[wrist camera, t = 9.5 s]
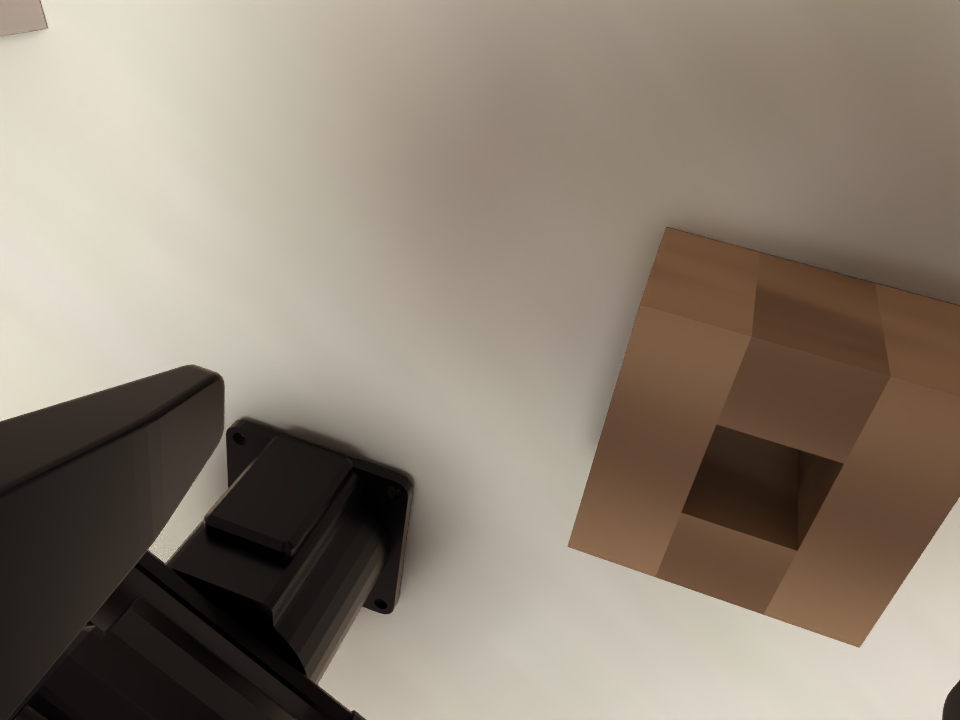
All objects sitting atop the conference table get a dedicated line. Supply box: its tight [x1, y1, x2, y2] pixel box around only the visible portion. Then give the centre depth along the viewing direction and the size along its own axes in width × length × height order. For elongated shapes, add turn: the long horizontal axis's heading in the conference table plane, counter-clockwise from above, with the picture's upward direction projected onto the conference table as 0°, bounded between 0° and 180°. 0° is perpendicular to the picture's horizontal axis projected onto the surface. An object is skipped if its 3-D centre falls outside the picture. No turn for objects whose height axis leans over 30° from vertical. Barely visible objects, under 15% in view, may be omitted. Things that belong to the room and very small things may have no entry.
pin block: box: [568, 227, 960, 648], centre depth 19 cm, size 7×7×4 cm
